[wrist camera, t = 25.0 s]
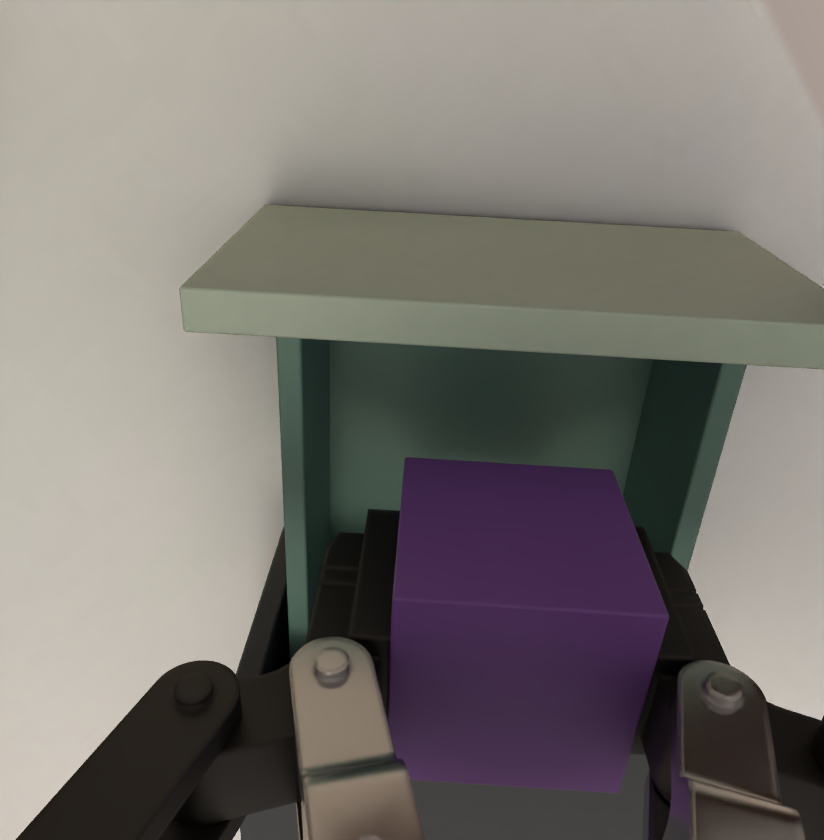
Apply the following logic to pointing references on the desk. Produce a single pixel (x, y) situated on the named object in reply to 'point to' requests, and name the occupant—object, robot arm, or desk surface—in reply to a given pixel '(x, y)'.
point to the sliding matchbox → (498, 356)
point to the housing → (446, 801)
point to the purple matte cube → (519, 626)
